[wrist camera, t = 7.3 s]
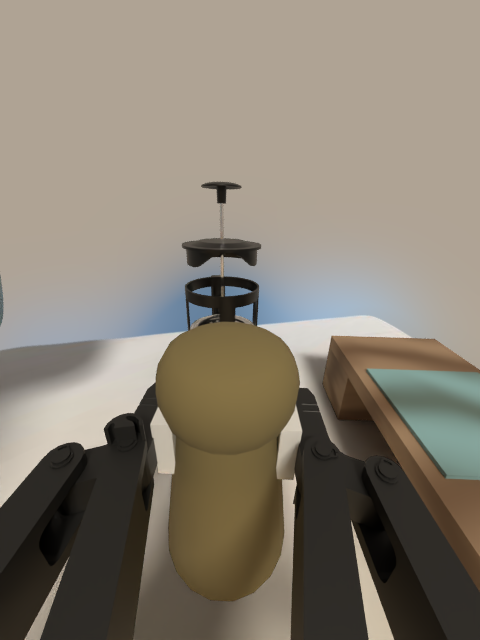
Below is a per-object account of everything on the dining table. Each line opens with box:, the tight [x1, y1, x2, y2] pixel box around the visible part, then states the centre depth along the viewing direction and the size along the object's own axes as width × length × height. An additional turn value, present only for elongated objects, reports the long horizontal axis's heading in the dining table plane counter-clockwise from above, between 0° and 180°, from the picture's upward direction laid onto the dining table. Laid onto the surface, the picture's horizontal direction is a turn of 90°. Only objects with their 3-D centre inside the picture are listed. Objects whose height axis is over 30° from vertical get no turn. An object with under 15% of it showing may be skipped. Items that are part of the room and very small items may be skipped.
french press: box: [182, 182, 261, 331], centre depth 31 cm, size 12×9×23 cm
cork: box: [156, 322, 300, 601], centre depth 11 cm, size 6×6×11 cm
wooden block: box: [323, 336, 480, 592], centre depth 19 cm, size 24×12×7 cm, turn 178°
